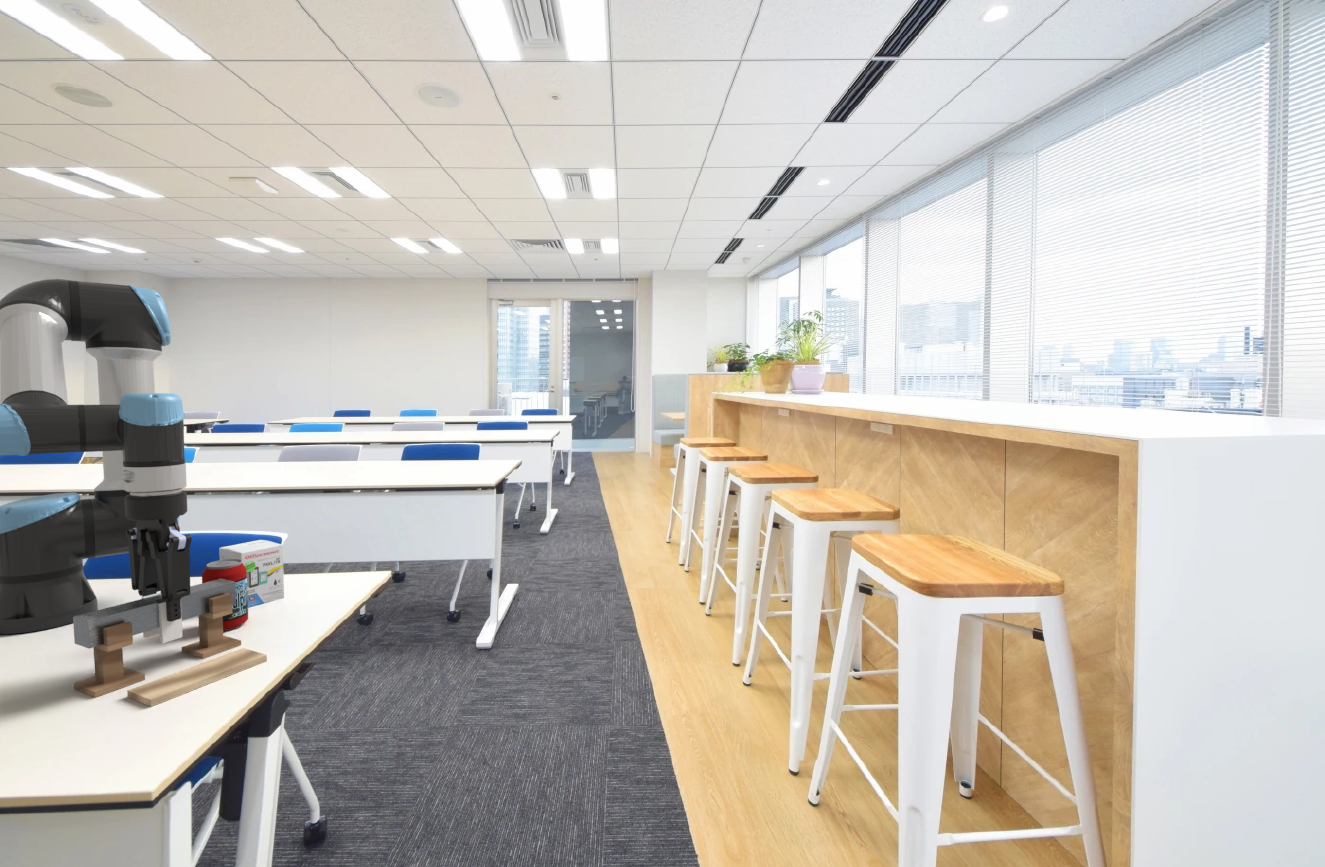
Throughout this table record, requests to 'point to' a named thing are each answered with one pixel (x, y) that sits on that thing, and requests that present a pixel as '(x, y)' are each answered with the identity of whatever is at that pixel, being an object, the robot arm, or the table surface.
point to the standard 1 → (111, 663)
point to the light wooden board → (195, 677)
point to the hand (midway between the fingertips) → (162, 636)
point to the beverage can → (238, 574)
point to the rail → (146, 612)
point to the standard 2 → (213, 630)
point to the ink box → (259, 569)
